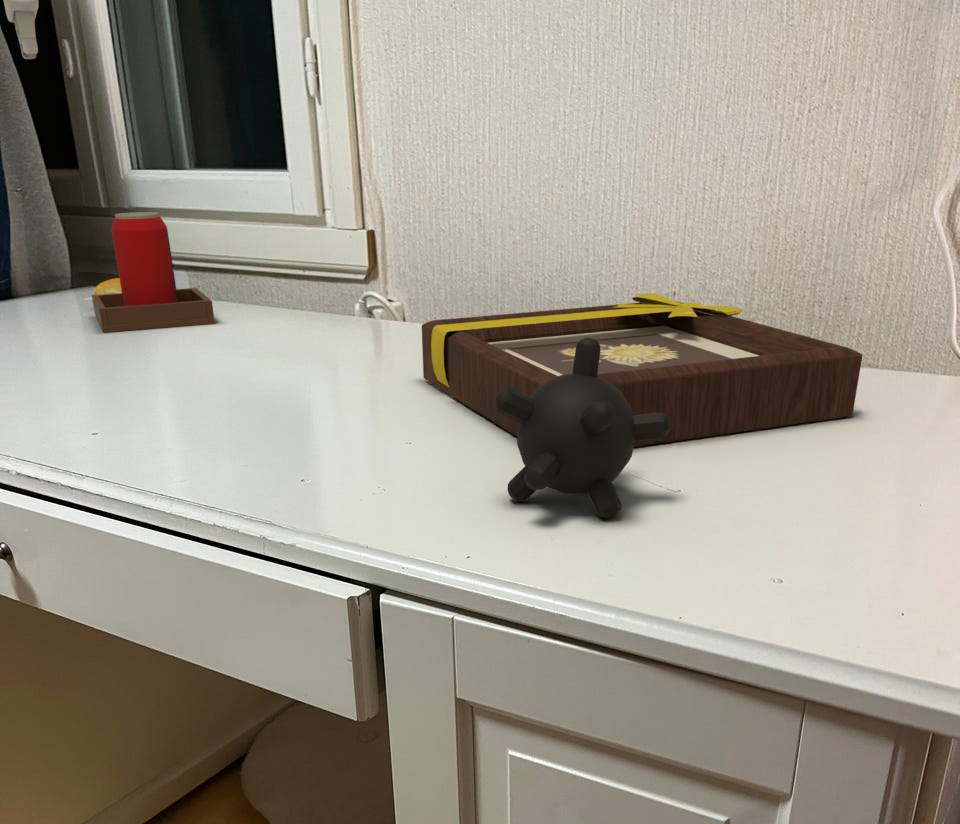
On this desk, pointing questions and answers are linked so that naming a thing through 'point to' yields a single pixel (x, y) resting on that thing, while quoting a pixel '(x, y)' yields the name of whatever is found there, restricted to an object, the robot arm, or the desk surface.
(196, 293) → the serving tray
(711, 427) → the brown gift box
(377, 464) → the desk surface
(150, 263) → the beverage can
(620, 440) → the naval mine
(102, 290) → the bread roll
